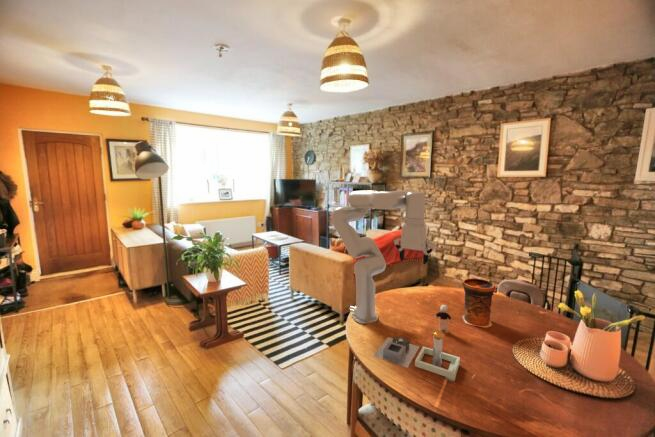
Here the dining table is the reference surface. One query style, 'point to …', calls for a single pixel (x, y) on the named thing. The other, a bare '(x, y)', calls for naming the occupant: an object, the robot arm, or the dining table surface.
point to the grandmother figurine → (443, 318)
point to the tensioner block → (397, 351)
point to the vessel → (478, 302)
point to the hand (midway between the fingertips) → (413, 261)
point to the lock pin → (437, 347)
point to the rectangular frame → (448, 374)
